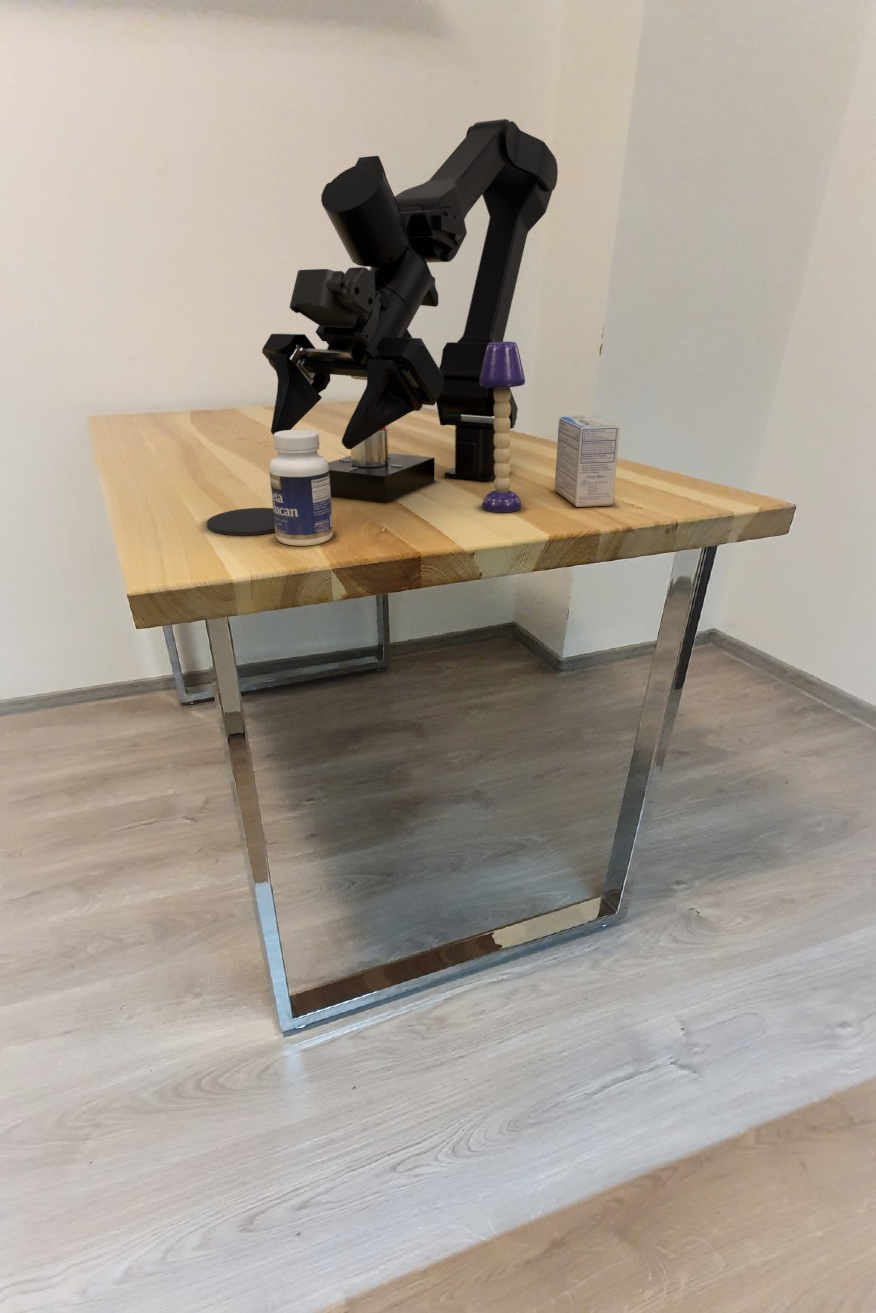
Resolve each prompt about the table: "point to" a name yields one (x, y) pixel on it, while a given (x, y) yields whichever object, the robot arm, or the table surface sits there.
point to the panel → (381, 478)
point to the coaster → (243, 522)
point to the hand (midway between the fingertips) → (308, 440)
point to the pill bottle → (300, 489)
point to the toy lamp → (502, 418)
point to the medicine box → (586, 460)
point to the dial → (372, 451)
